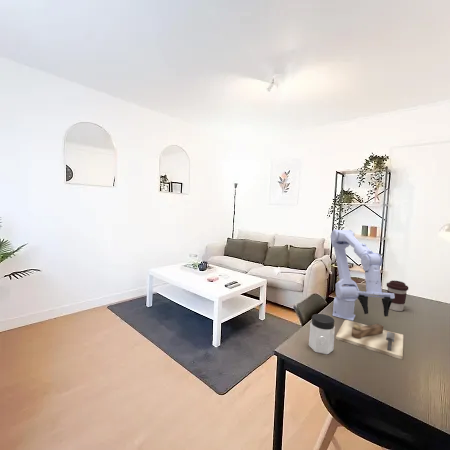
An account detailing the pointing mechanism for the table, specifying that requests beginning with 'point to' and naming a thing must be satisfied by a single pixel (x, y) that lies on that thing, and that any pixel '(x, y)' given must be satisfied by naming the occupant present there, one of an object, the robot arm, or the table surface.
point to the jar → (322, 333)
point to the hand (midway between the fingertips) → (376, 315)
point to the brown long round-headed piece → (367, 330)
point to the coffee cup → (397, 294)
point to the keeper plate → (373, 340)
